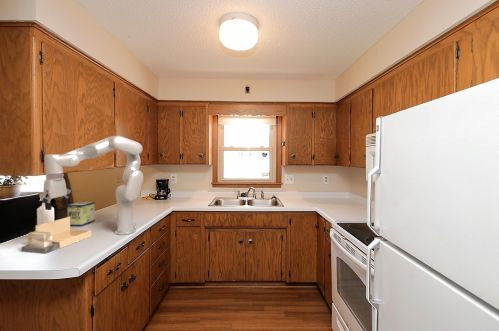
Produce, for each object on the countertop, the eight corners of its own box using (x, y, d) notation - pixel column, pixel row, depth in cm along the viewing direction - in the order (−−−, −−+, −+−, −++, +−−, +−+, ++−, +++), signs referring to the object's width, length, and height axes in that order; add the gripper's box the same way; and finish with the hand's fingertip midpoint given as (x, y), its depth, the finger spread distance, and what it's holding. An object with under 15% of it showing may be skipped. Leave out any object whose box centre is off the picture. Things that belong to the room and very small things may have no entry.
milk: (48, 237, 160) (47, 202, 159) (55, 238, 158) (54, 202, 157) (37, 239, 154) (36, 203, 154) (44, 241, 152) (43, 204, 151)
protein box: (67, 226, 183) (66, 205, 183) (82, 221, 199) (81, 201, 198) (81, 226, 183) (81, 205, 182) (95, 221, 199) (95, 201, 198)
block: (37, 243, 139) (37, 230, 139) (52, 244, 137) (52, 231, 137) (28, 246, 135) (28, 233, 135) (44, 247, 133) (43, 234, 133)
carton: (69, 235, 163) (69, 216, 162) (91, 237, 160) (90, 218, 159) (36, 247, 142) (35, 225, 142) (59, 249, 139) (59, 227, 139)
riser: (34, 247, 141) (34, 242, 141) (57, 249, 138) (57, 244, 138) (22, 252, 135) (21, 246, 134) (45, 254, 132) (45, 248, 132)
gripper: (63, 175, 149) (65, 204, 150) (32, 178, 132) (35, 211, 133) (74, 175, 147) (76, 204, 149) (44, 178, 131) (47, 211, 132)
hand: (57, 207), depth 141 cm, fingers open, 9 cm apart
